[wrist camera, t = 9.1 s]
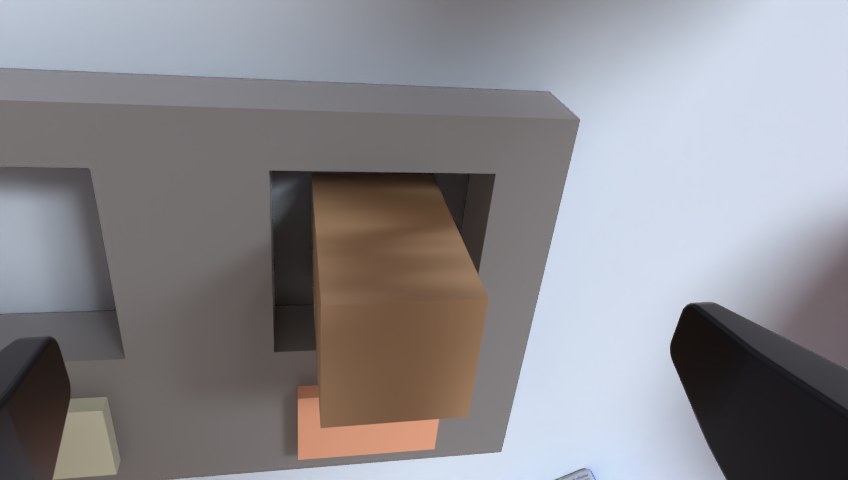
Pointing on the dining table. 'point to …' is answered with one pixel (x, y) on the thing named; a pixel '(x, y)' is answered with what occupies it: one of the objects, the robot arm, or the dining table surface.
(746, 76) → the dining table surface
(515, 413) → the dining table surface
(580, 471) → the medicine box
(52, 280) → the dining table surface
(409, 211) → the plug
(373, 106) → the socket plate
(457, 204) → the dining table surface
